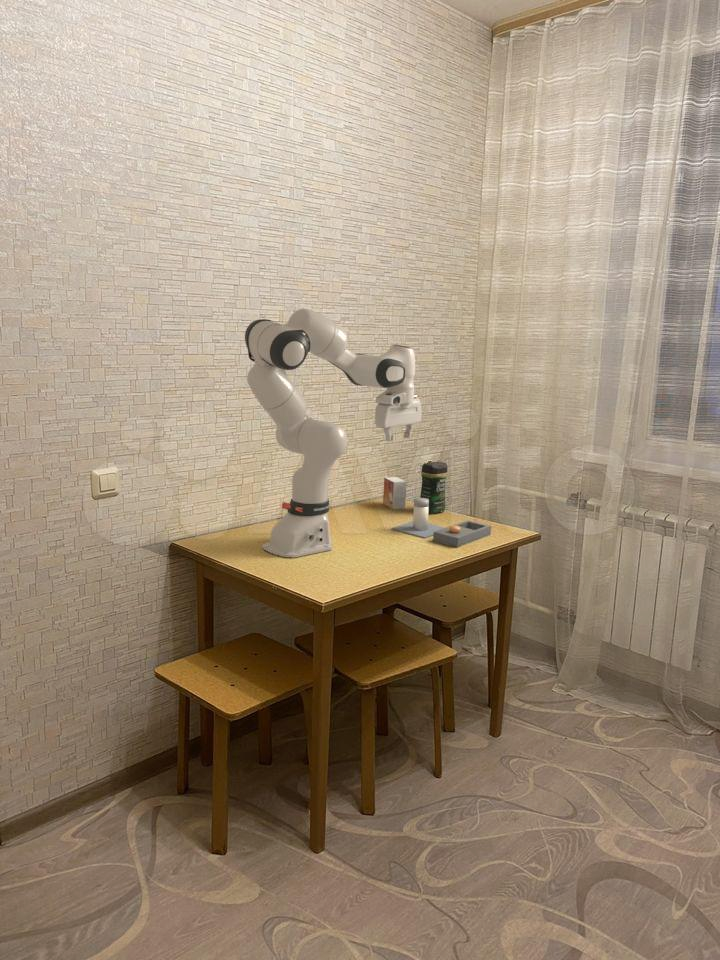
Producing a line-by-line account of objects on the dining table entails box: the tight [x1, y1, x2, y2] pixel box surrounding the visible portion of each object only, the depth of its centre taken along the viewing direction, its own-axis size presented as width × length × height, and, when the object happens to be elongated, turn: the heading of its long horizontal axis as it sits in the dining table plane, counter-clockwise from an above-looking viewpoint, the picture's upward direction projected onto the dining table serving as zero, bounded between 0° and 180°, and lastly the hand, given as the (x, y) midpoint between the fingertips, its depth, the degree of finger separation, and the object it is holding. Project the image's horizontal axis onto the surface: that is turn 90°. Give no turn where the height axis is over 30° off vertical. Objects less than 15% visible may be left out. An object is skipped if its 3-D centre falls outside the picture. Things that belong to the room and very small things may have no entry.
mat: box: [390, 520, 446, 539], centre depth 250 cm, size 14×14×1 cm
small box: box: [382, 476, 408, 510], centre depth 278 cm, size 8×6×10 cm
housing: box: [432, 519, 492, 548], centre depth 243 cm, size 20×9×3 cm, turn 139°
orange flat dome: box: [448, 524, 461, 533], centre depth 239 cm, size 4×4×1 cm
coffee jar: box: [419, 460, 449, 515], centre depth 272 cm, size 10×8×19 cm
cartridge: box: [412, 497, 429, 531], centre depth 249 cm, size 5×5×10 cm
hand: (398, 439), depth 241 cm, fingers open, 8 cm apart
